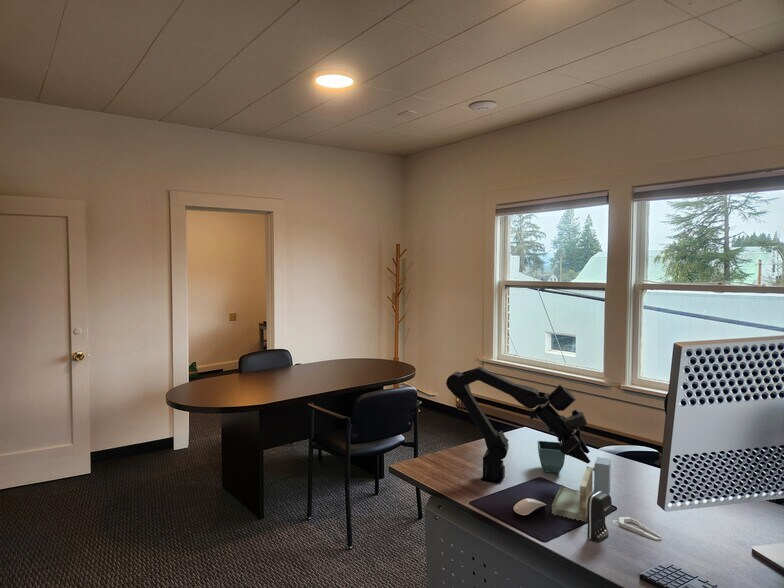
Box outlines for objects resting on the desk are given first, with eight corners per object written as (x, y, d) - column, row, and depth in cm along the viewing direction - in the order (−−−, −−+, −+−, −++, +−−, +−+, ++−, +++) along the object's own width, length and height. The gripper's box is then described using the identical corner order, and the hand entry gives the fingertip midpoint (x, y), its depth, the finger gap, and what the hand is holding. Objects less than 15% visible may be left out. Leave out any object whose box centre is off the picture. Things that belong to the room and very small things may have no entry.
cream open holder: (551, 514, 145) (552, 480, 144) (561, 493, 159) (561, 462, 159) (585, 521, 140) (586, 486, 140) (592, 499, 155) (592, 467, 154)
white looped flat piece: (667, 539, 133) (668, 533, 133) (658, 545, 130) (659, 539, 130) (619, 518, 143) (620, 512, 143) (610, 523, 140) (611, 517, 140)
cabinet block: (591, 495, 158) (591, 462, 157) (593, 488, 163) (593, 456, 162) (608, 498, 155) (609, 465, 155) (610, 491, 160) (610, 459, 160)
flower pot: (565, 476, 173) (566, 450, 172) (539, 474, 174) (539, 448, 174) (562, 466, 181) (562, 442, 181) (537, 464, 183) (537, 440, 183)
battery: (600, 544, 128) (601, 501, 128) (586, 539, 131) (587, 496, 131) (613, 535, 133) (613, 493, 133) (599, 530, 136) (599, 488, 136)
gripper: (571, 411, 152) (610, 451, 149) (571, 397, 170) (606, 432, 166) (544, 434, 155) (582, 474, 152) (547, 418, 173) (581, 453, 169)
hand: (588, 457), depth 160 cm, fingers open, 9 cm apart
